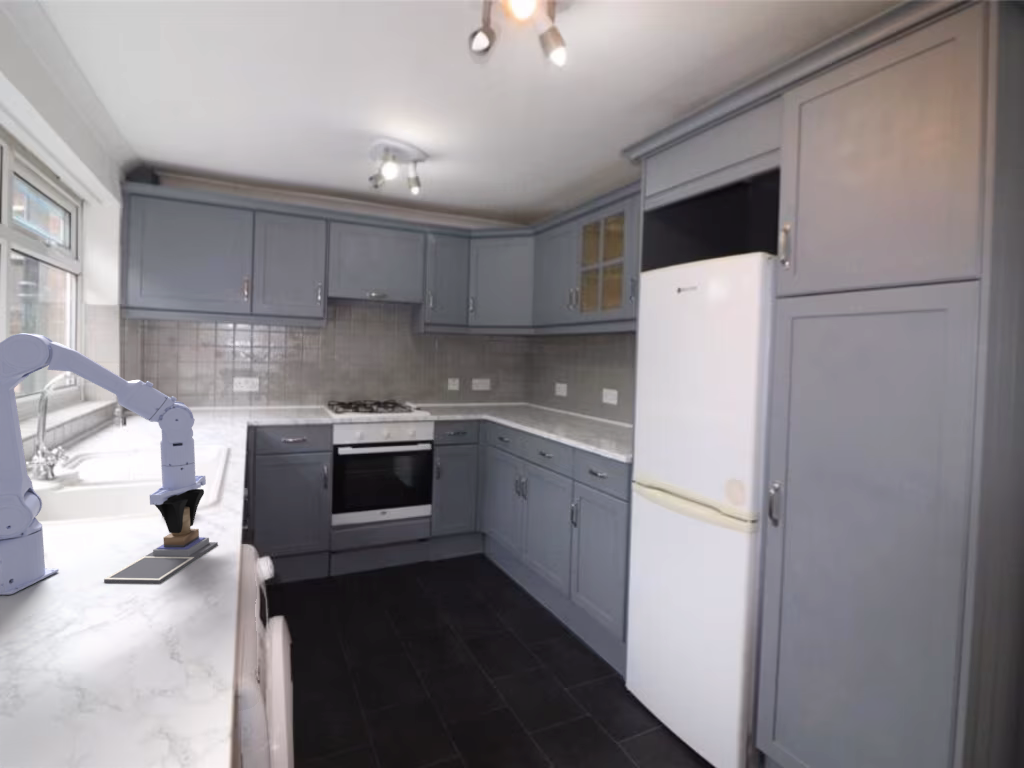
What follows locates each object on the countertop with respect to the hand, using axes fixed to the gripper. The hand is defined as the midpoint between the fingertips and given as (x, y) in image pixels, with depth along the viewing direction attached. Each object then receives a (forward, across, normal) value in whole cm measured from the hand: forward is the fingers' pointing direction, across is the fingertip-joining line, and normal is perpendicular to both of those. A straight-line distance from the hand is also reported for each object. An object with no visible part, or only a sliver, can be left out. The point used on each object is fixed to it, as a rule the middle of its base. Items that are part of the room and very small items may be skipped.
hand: (181, 529), depth 108 cm
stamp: (+3, 0, 0) cm, 3 cm away
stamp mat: (+5, -5, 0) cm, 7 cm away
